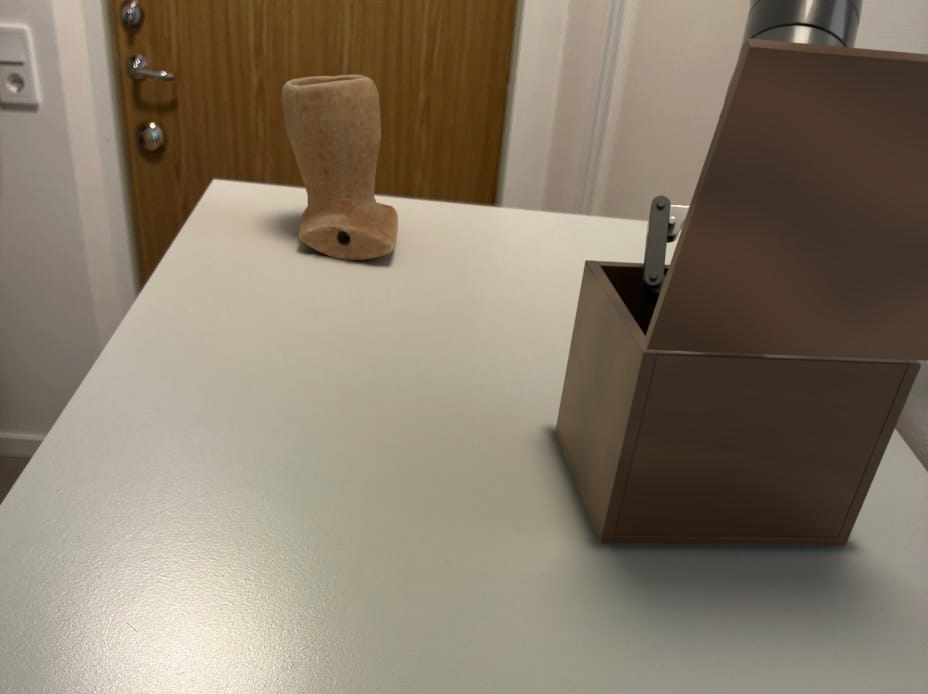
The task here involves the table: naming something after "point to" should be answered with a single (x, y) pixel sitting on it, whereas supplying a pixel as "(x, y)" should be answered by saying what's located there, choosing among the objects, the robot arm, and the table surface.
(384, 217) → the tan boot
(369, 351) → the table surface
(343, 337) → the table surface
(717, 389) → the chest
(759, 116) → the chest lid
